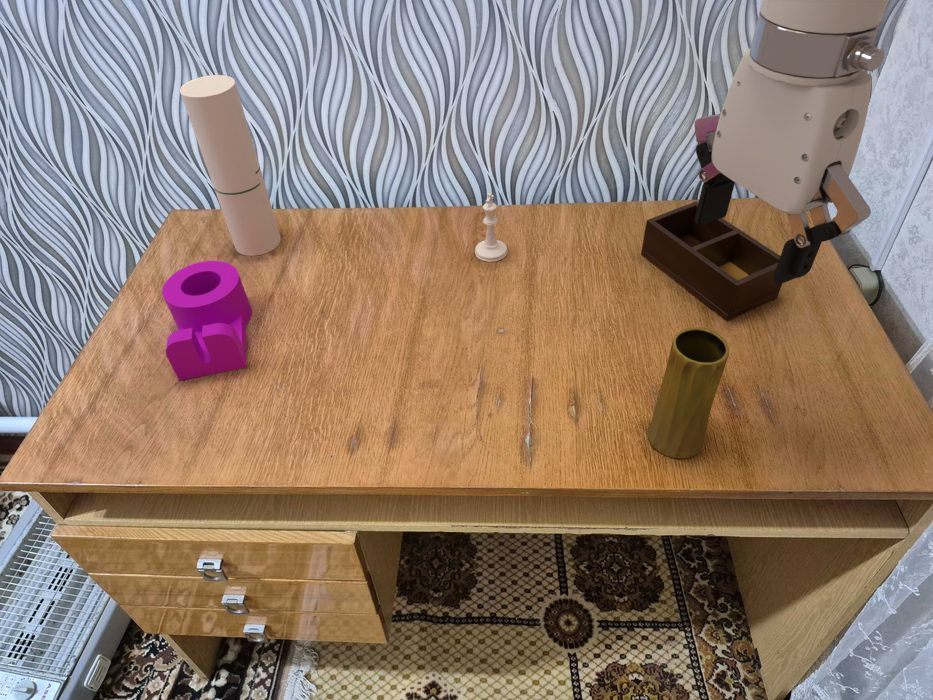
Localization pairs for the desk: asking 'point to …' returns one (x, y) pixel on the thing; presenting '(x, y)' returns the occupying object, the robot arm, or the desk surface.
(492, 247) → the chess piece
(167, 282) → the magenta bearing bracket
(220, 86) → the cylindrical container
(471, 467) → the desk surface
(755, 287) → the brown compartment box
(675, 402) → the vase
